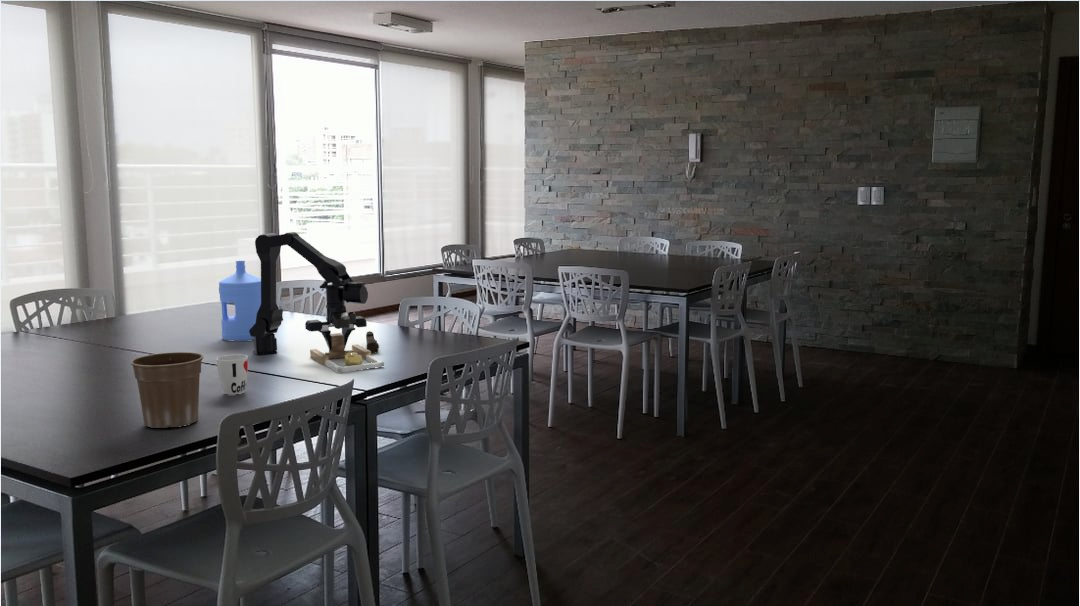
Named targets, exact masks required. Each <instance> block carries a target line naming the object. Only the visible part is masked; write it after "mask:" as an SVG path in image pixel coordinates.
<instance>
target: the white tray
mask: <svg viewBox="0 0 1080 606" xmlns="http://www.w3.org/2000/svg"><path fill="white" fill-rule="evenodd" d="M365 360H366V361H367V360H368V361H367V362H369V361H370V362H369V363H362V364H361V365H353V366H346V365H344V366H340V365H338V364H336V363H335V362H333V360H331V359H328V360H325V363H326V364H325V366H327V367H328V368H330V369H332V370H333V372H336V373H338V374H342V373H348V372H349V373H350V371H351V372H356V371H355V370H359V371H362V370H361V369H367V368H375V367H382V366H384V367H385V363H384V361H381V360H380V359H378V358H376V357H374V356H372V354H371V355H366V359H365ZM371 362H372V363H371ZM375 369H376V368H375ZM367 370H368V369H367Z"/></svg>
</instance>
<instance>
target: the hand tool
mask: <svg viewBox="0 0 1080 606" xmlns="http://www.w3.org/2000/svg"><path fill="white" fill-rule="evenodd" d="M365 338H366V349H368V350H370V351H371V354H376V353H375V352H377V353H378V352H379V348H380V345H379V343H378V341H377V339H375V336H374V332H372V331H371V330H369V331H366V333H365Z"/></svg>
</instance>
